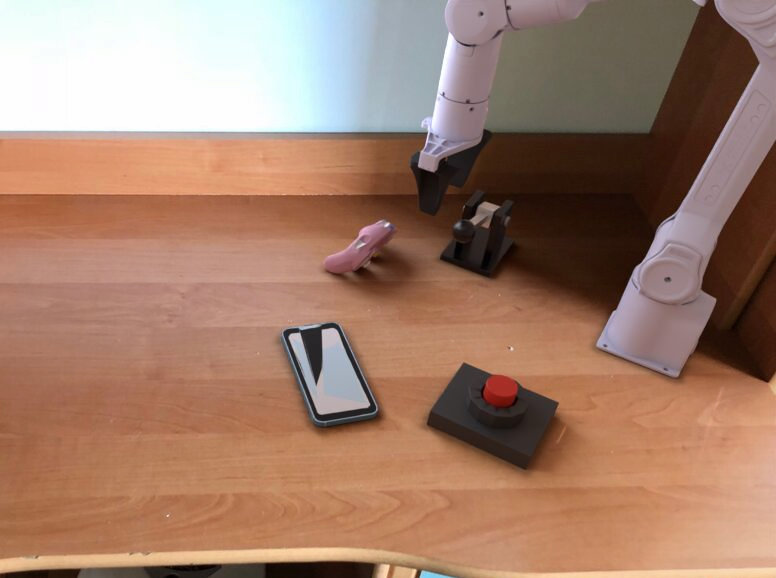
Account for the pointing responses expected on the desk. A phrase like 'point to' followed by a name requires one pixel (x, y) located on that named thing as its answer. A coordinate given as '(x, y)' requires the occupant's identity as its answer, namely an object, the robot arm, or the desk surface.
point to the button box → (492, 417)
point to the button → (500, 391)
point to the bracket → (482, 240)
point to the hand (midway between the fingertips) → (441, 198)
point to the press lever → (475, 222)
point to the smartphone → (328, 374)
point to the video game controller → (361, 248)
